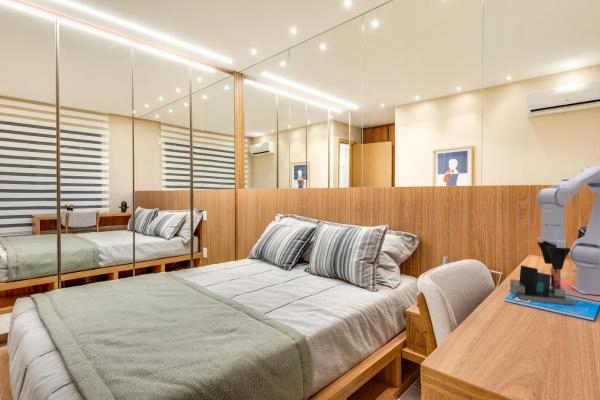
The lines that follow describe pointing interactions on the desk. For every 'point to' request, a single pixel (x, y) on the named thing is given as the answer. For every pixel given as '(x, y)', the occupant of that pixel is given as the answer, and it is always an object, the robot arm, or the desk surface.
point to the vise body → (519, 292)
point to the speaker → (534, 281)
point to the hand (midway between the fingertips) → (553, 266)
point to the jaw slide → (556, 284)
